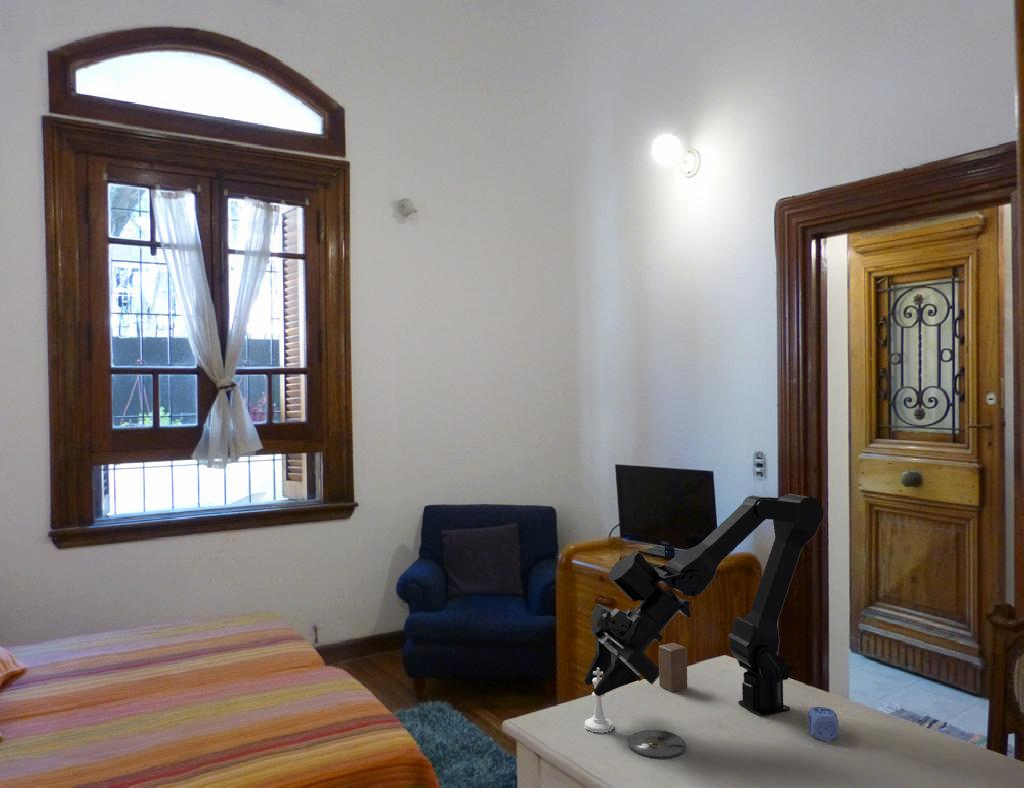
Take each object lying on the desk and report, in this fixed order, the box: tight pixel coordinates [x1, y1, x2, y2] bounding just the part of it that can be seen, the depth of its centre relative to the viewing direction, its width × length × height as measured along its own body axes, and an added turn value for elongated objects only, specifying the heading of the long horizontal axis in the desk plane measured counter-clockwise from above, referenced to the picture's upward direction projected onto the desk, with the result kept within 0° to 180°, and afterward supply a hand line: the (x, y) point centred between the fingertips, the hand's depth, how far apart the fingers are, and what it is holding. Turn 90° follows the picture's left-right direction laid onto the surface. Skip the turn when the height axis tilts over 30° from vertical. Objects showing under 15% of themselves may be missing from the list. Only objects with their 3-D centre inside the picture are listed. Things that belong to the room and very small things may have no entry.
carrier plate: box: [627, 729, 686, 759], centre depth 122 cm, size 9×9×1 cm
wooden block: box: [658, 642, 688, 693], centre depth 147 cm, size 4×4×8 cm
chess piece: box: [584, 668, 614, 733], centre depth 130 cm, size 5×5×10 cm
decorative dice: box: [807, 706, 840, 741], centre depth 125 cm, size 4×4×4 cm
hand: (590, 689), depth 129 cm, fingers open, 5 cm apart
